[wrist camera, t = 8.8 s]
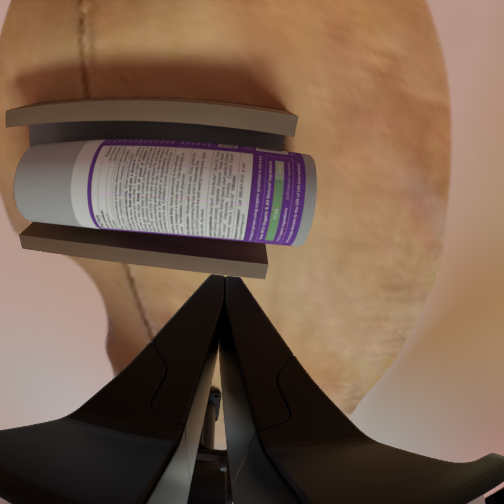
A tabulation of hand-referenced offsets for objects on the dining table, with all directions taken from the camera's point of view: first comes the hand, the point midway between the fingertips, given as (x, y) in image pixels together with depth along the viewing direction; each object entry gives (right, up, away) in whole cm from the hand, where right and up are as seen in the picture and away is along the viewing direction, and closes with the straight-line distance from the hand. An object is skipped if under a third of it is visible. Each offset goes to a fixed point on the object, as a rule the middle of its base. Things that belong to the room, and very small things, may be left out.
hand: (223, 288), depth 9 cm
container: (+4, +4, +6) cm, 8 cm away
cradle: (-6, +6, +8) cm, 11 cm away
